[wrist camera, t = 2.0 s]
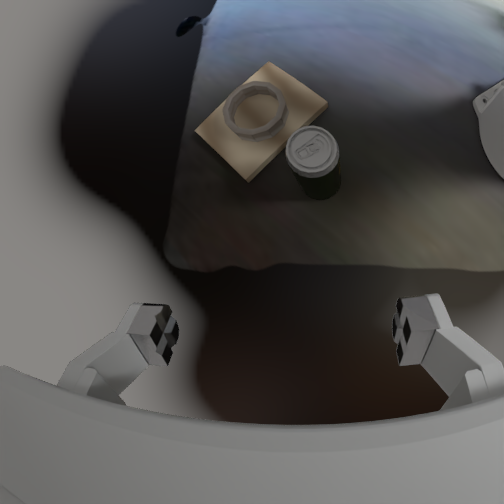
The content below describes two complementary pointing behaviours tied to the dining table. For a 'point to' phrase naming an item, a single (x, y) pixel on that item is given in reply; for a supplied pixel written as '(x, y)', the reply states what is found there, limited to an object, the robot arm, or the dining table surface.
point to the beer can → (314, 161)
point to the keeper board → (260, 119)
